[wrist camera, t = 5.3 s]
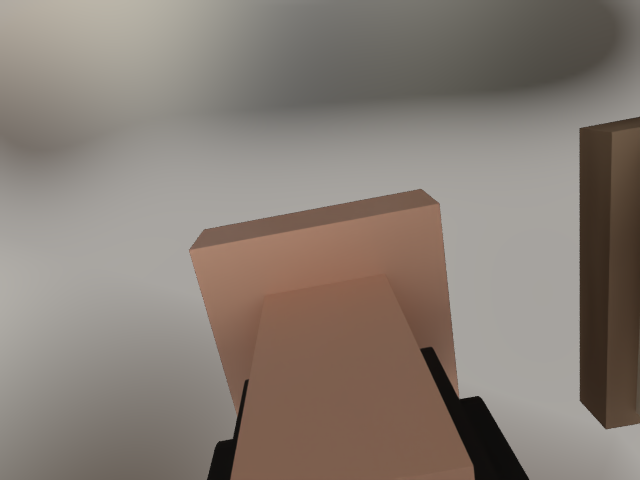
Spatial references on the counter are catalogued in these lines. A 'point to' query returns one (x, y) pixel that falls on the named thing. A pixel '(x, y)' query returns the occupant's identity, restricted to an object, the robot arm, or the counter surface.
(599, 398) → the ticket pad
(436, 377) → the robot arm
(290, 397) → the stub
